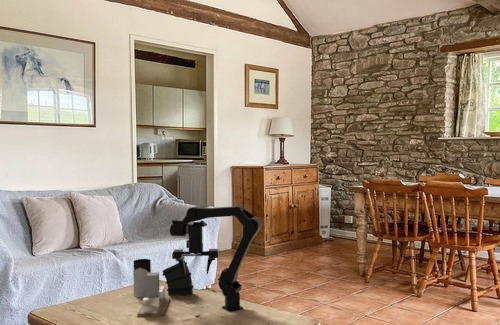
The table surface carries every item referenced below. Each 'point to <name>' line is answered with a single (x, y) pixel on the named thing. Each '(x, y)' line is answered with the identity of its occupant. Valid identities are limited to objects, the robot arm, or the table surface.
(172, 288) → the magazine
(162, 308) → the board
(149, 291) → the block
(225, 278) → the robot arm
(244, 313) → the table surface
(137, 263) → the glass holder
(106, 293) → the table surface
